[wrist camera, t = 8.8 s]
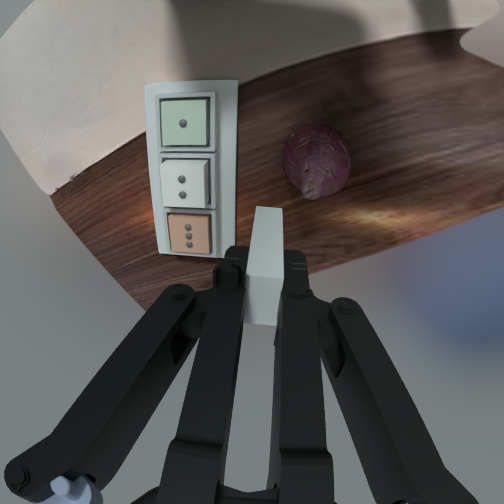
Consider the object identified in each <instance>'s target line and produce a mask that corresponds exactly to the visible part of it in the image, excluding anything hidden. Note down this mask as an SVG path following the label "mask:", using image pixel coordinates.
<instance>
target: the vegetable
mask: <svg viewBox="0 0 504 504" xmlns="http://www.w3.org/2000/svg"><path fill="white" fill-rule="evenodd" d="M283 169H284V172H285V174H286V175H287V177H288V179H289V180H290V181H291V182H292V184H293V185H294V186H296V187H297V188H298V189H299V190H300V191H301V193H302V195H303V196H304V197H305V198H306V199H309V200H314V199H317V198H319V197H327V196H331V195H333V194H335V193H337V192H338V191H340V190H341V189H342V188H343V187H344V186H345V184H346V182H347V180H348V177H349V175H350V172H351V152H350V148H349V146H348V144H347V143H346V142H345V141H344V139H343V138H342V137H341V136H340V135H339V134H337V133H336V132H335V131H333V130H330V129H328V128H326V127H325V126H322V127H320V126H303V127H300V128H297V129H295V130H293V131H292V132H291V133H290V134H289V136H288V137H287V139H286V142H285V146H284V153H283Z"/></svg>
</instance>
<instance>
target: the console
mask: <svg viewBox="0 0 504 504" xmlns="http://www.w3.org/2000/svg"><path fill="white" fill-rule="evenodd" d="M238 82H239V80H192V81H174V82H160V83H150V84H145V115H146V134H147V149H148V162H149V174H150V184H151V194H152V203H153V212H154V220H155V228H156V235H157V242H158V249H159V253H164V254H175V255H188V256H201V257H214V258H224V255H225V252H226V250H227V249H228V248H229V247H230V246H231V245H233V246H235V215H236V157H237V115H238ZM176 99H210V141H209V142H208V143H207V144H206V145H163V143H162V121H161V102H163V101H166V100H176ZM166 160H208V181H209V201H208V203H207V205H206V207H205V208H192V207H168V206H163V198H162V187H161V175H160V165H161V164H162V163H163V162H164V161H166ZM171 212H175V213H196V214H211V217H212V247H211V250H210V253H209V254H203V253H190V252H176V251H172V247H171V239H170V230H169V220H168V216H169V215H170V213H171Z"/></svg>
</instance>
